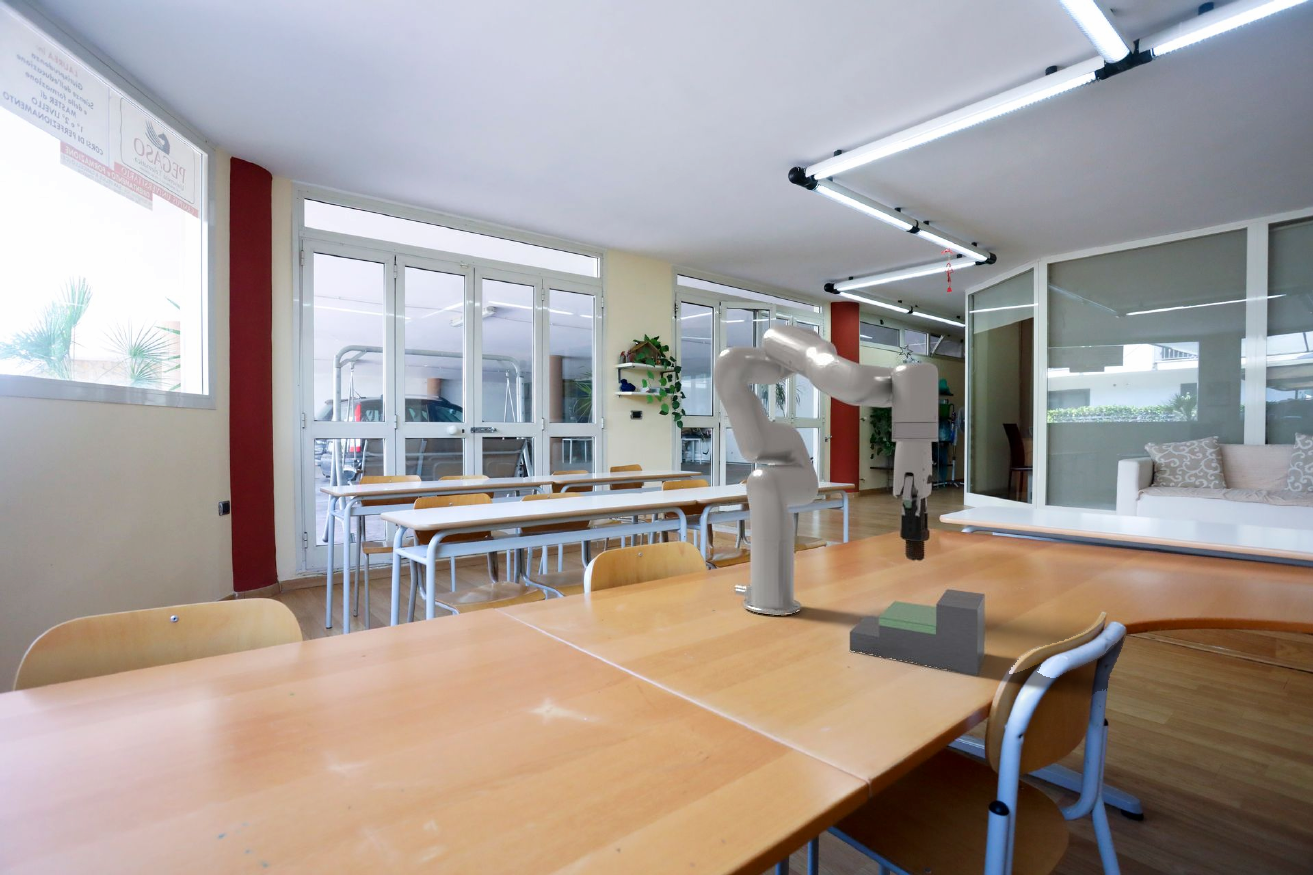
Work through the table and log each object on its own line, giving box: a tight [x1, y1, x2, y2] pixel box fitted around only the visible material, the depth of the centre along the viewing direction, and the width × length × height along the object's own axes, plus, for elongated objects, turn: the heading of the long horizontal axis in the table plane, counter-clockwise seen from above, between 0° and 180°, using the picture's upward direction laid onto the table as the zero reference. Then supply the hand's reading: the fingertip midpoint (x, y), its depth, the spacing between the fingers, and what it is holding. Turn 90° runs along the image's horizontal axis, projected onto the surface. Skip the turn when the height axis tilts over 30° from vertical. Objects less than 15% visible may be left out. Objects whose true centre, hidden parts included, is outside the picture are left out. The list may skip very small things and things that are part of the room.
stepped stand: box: [849, 588, 986, 677], centre depth 106 cm, size 20×12×10 cm, turn 57°
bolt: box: [899, 475, 933, 562], centre depth 107 cm, size 6×5×15 cm
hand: (914, 535), depth 107 cm, fingers closed on bolt, 5 cm apart
